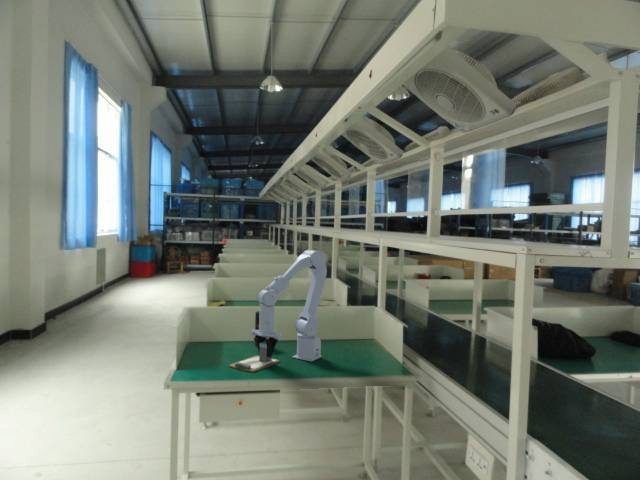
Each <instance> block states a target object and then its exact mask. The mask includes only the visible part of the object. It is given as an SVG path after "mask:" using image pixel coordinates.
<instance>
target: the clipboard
mask: <svg viewBox="0 0 640 480" xmlns="http://www.w3.org/2000/svg"><path fill="white" fill-rule="evenodd" d="M280 362H281V360H280V359H276V358H272V360H271V361H269V362H262V361H259V355H257V354H256V355H253V356H250V357H247V358H243V359H242V360H239V361H236V362H234V363H231V364H229V365H228V367H229V368H232V369H236V370H241V371H245V372H249V373H257V372H259V371H262V370H264V369H266V368H268V367H270V366H273V365H275V364H278V363H280Z"/></svg>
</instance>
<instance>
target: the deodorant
mask: <svg viewBox="0 0 640 480" xmlns="http://www.w3.org/2000/svg"><path fill="white" fill-rule="evenodd" d="M254 319H255V320H254V321H255V323H254V325H255V326H254V327H255V328H254V330H259V310H258V311H255V317H254ZM255 337H256V335H254V338H255ZM266 339H269V338H267V337H266ZM254 347H256V348H258V347H257V345H256V342H255V341H254Z"/></svg>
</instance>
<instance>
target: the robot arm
mask: <svg viewBox="0 0 640 480" xmlns="http://www.w3.org/2000/svg"><path fill="white" fill-rule="evenodd" d="M326 262H327V256H326V255H325V253H324V252H323V251H321V250H317V249H316V250H311V249H305V250H304V251H303V252H302V253H300V255H299V256H298V257H297V259H296V260H295V261H294V262H293V263H292V264H291V266H290V267H288V269H287V270H286V271H285V272H284V274H283V275H278V276H275V277H274V278H273V281H272V282H270V284H269V285H268V286H265V289H262V290H261V291H260V292H259V293H258V296H257V297H256V298H257V301H258V303H259V310H258V311H259V330H255V328H254V329H251V330H250V331H249V335H250V336H254V338H253V341H254V343H255V342H256V345H257V347H256V348H257V350H258V354H259V353H260V343H261V342H264V341H266V344H267V356H268V357H273V353H274V350H275V347H276V345H277V343H278V342H279V341H282V340H283V339H284V334H281V333H280V332H276V331H275V329H274V327H275V304H276V303H277V302H278V297H280V295H281V294H282V293H284V291H285V290H287V288H288V287H290V281H291V280H292V279H293V278H294V277H295V276H297V274H298V273H300V272H301V271H302V270H303V269H307V268H309V269H310V271H311V272H312V278H311V281H310V284H309V289H308V293H307V296H306V300H305V302H304V303H305V304H304V307H303V310H302V311H301V312H300V313H299V315H298V318H297V319H296V321H295V323H294V328H295V331H297V334H296V335H297V337H296V354H295V355H293V356H292V358H294V359H298V360H303V361H306V362H307V361H308V362H314V361H316V360H318V359H320V358H322V357H323V355H321V354H322V351H321V350H322V341H321V339H320V338H319V337H317V336H316V335H317V333H318V331H319V325H318V323H319V318H318V315H317V313H318V309H319V305H320V301H321V297H322V293H323V290H324V285H325V281H326V278H327V273H328V269H327V263H326ZM255 335H256V337H255ZM266 337H267V338H268V339H266Z"/></svg>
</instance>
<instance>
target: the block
mask: <svg viewBox="0 0 640 480" xmlns="http://www.w3.org/2000/svg"><path fill="white" fill-rule="evenodd" d="M258 356H259V361H262V362H269V361H271V360H272V359H273V358H272V357H273V356H272V357H268V356H267V344H266V341H264V342H261V343H260V353H259V352H258Z"/></svg>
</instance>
